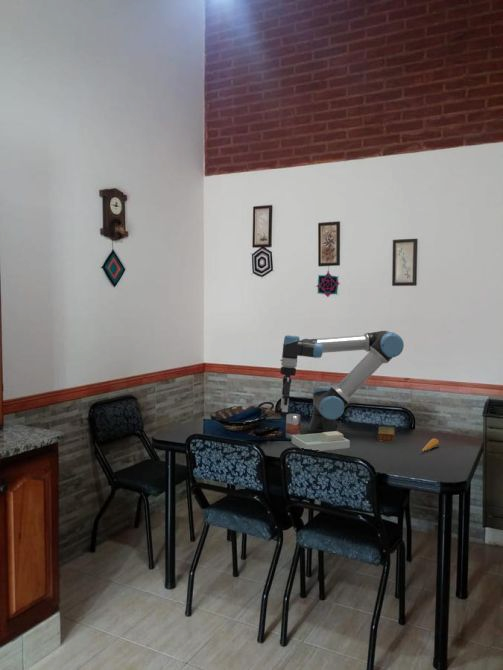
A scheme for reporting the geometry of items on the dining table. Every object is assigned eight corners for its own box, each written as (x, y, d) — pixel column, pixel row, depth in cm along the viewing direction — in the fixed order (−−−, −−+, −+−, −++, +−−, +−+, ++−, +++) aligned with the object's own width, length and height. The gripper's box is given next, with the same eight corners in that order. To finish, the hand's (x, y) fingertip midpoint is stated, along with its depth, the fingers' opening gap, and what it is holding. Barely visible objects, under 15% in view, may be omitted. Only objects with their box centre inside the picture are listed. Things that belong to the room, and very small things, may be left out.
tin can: (296, 436, 277) (296, 413, 276) (302, 440, 270) (303, 416, 269) (283, 437, 274) (283, 414, 273) (289, 441, 268) (290, 417, 267)
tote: (332, 441, 270) (332, 432, 270) (349, 450, 255) (349, 440, 255) (291, 444, 262) (291, 435, 262) (306, 454, 247) (307, 444, 247)
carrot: (433, 447, 266) (430, 438, 266) (441, 445, 263) (438, 436, 263) (415, 460, 251) (412, 451, 251) (424, 458, 248) (420, 449, 248)
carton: (377, 441, 272) (377, 432, 272) (378, 433, 288) (378, 425, 287) (394, 442, 270) (394, 434, 270) (394, 434, 286) (395, 426, 285)
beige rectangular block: (336, 443, 262) (336, 431, 262) (342, 446, 257) (343, 434, 256) (321, 444, 259) (321, 432, 259) (327, 448, 254) (328, 435, 253)
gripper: (279, 364, 282) (275, 406, 282) (282, 367, 258) (277, 412, 257) (294, 366, 282) (289, 407, 282) (298, 369, 257) (293, 414, 257)
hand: (283, 410), depth 270 cm, fingers open, 13 cm apart
